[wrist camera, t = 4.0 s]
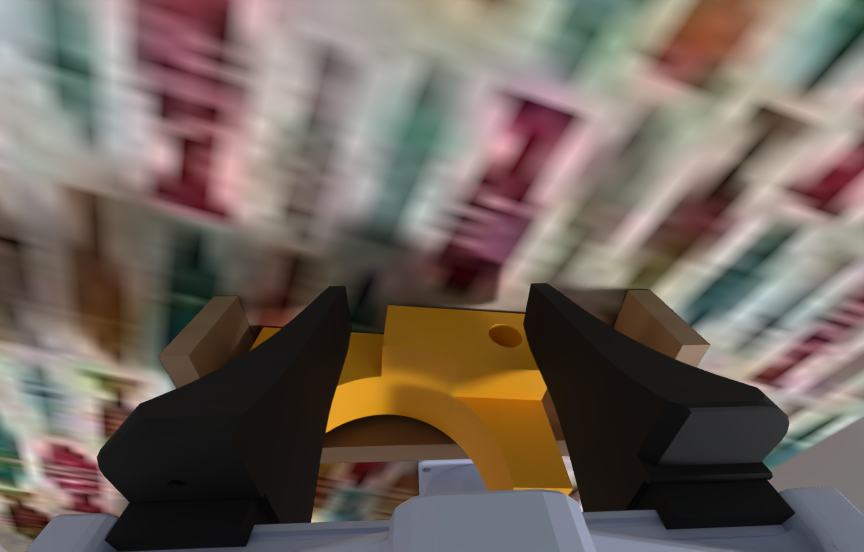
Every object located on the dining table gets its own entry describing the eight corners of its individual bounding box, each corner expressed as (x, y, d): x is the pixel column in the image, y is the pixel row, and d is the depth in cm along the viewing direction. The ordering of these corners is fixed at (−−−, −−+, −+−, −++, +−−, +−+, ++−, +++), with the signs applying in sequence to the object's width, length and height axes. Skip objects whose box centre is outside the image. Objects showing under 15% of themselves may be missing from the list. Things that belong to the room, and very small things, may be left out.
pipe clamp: (530, 314, 15) (593, 460, 9) (507, 377, 17) (548, 522, 12) (256, 296, 14) (150, 448, 8) (272, 366, 16) (198, 518, 11)
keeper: (607, 390, 18) (644, 453, 15) (257, 399, 17) (223, 466, 14) (650, 289, 14) (710, 344, 11) (214, 296, 14) (157, 356, 11)
